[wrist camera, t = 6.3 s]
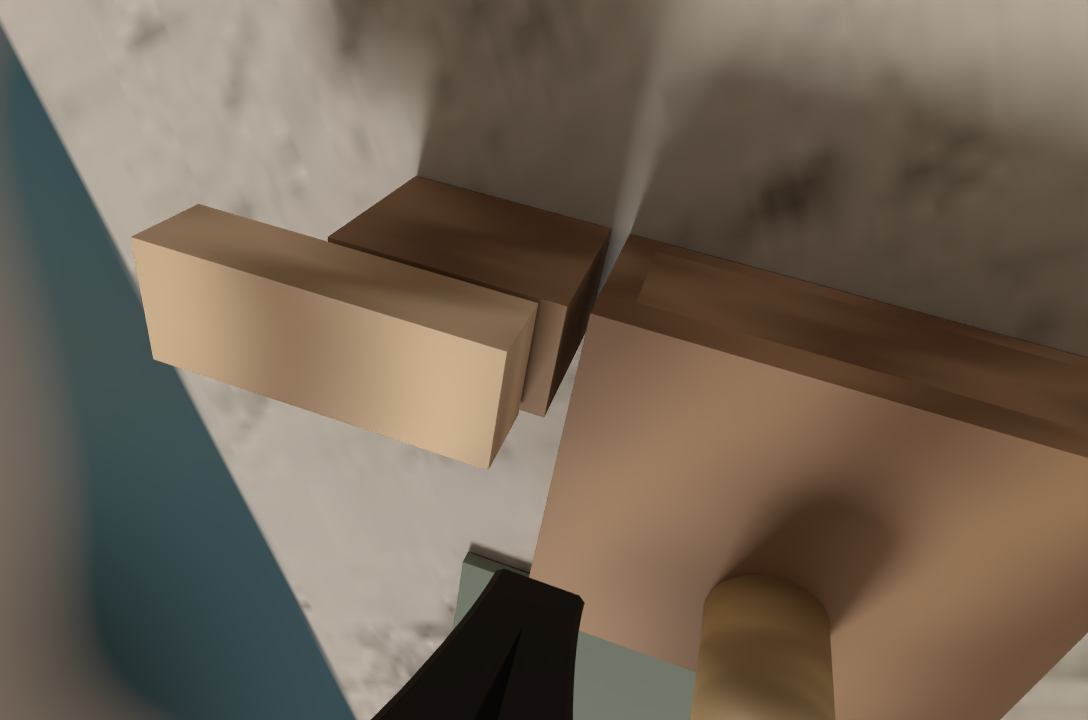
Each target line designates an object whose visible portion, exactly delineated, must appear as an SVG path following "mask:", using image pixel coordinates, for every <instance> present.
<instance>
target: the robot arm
mask: <svg viewBox="0 0 1088 720" xmlns="http://www.w3.org/2000/svg"><path fill="white" fill-rule="evenodd" d="M584 604H585V603H584V601H583V600H582V598H581V597H580V596H579V595H577V594H574V593H571V592H568V591H566V590H563V589H560V588H557V587H554V586H552V585H549V584H546V583H543V582H540V581H538V580H535V579H532V578H529V577H526V576H524V575H521V574H518V573H515V572H512V571H510V570H507V569H500V570H497V571H495V573H494V575H493V576H492V578H491V579H490V581H489V583H488V584H487V586H486V587H485V589H484V590H483V591H482V593H481V594H480V596H479V597H478V599H477V600H476V601H475V603H474V604H473V605H472V607H471V608H470V609H469V611H468V612H467V613H466V615H465V616H464V617H463V619H462V620H461V621H460V622H459V623H458V625H457V626H456V627H455V628H454V630H453V631H452V632H451V633H450V635H449V636H448V637H447V638H446V639H445V641H444V642H443V643H442V644H441V645H440V646H439V648H438V649H437V650H436V651H435V652H434V653H433V654H432V655H431V657H430V658H429V659H428V660H427V661H426V662H425V663H424V664H423V666H422V667H421V668H420V669H419V670H418V671H417V672H416V673H415V675H414V676H413V677H412V678H411V679H410V680H409V681H408V682H407V683H406V684H405V686H404V687H403V688H402V689H401V690H400V691H399V692H398V693H397V694H396V695H395V696H394V697H393V698H392V699H391V700H390V701H389V702H388V703H387V704H386V705H385V706H384V707H383V708H382V709H381V710H380V711H379V712H378V713H377V714H376V715H375V716H374V717H373V718H372V719H371V720H573V695H574V676H575V660H576V650H577V641H578V634H579V627H580V622H581V616H582V612H583V608H584Z"/></svg>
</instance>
